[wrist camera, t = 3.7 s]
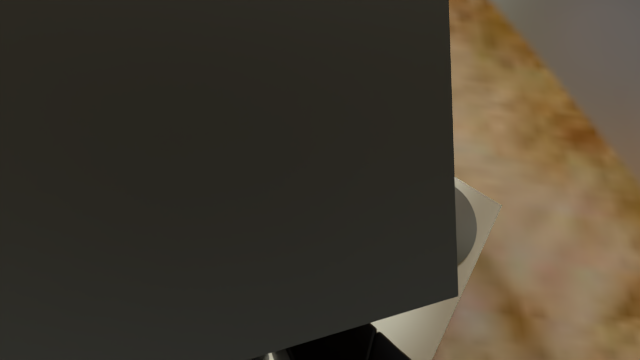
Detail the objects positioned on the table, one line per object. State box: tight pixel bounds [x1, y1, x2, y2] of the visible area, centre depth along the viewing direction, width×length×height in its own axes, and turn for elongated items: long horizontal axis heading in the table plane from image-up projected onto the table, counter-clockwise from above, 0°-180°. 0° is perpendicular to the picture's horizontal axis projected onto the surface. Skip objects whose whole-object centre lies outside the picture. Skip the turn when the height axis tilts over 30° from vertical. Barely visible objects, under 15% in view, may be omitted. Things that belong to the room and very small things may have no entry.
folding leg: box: [0, 0, 458, 360], centre depth 8 cm, size 3×3×12 cm
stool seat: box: [269, 177, 502, 360], centre depth 14 cm, size 13×13×3 cm
